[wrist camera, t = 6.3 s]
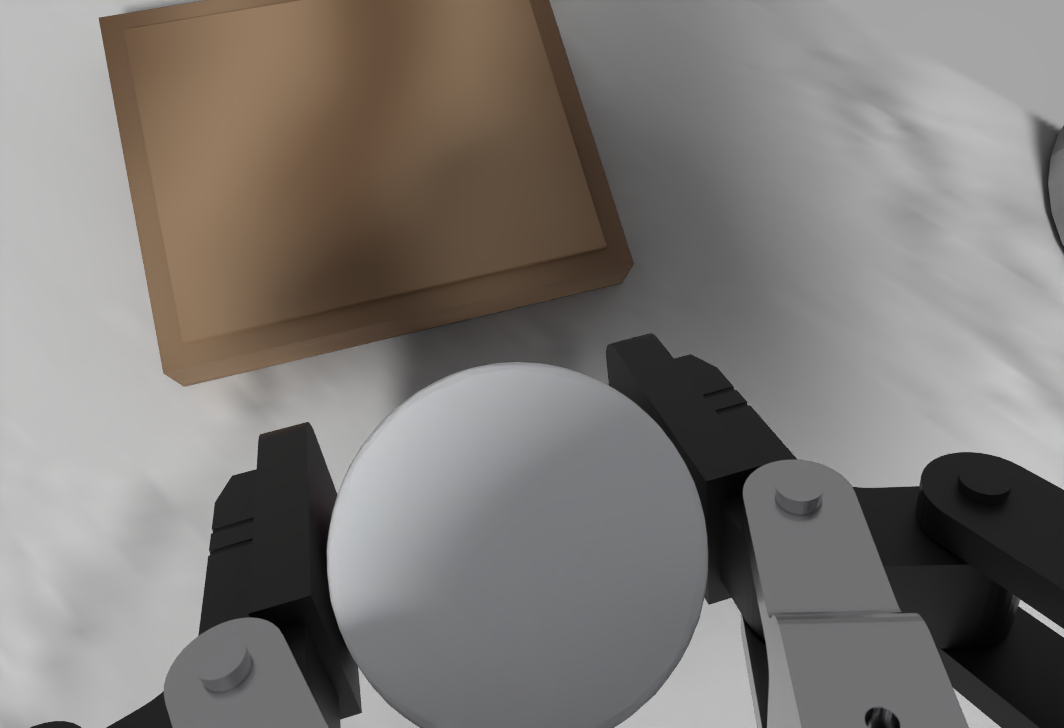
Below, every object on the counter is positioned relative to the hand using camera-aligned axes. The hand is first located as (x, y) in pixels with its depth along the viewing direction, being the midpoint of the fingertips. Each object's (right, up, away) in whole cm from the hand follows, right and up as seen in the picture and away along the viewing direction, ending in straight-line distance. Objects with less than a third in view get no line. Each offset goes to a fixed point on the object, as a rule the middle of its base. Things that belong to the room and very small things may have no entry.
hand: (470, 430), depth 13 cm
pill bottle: (0, -3, +4) cm, 5 cm away
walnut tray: (-4, +7, +10) cm, 12 cm away
